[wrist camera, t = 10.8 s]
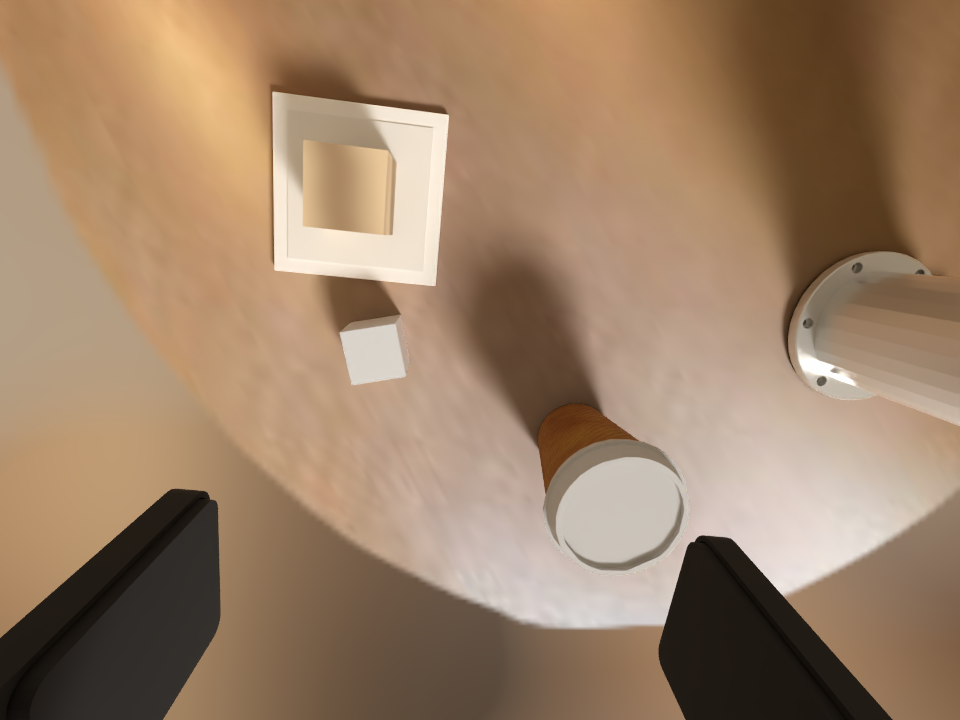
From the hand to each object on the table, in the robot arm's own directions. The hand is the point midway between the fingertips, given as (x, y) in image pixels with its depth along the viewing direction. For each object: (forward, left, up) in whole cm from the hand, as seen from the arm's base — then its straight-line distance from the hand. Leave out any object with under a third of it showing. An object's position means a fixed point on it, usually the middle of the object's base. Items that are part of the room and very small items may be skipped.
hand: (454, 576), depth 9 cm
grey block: (+5, +3, -29) cm, 29 cm away
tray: (+7, -9, -29) cm, 31 cm away
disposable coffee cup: (-12, +9, -29) cm, 33 cm away
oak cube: (+7, -8, -28) cm, 30 cm away
